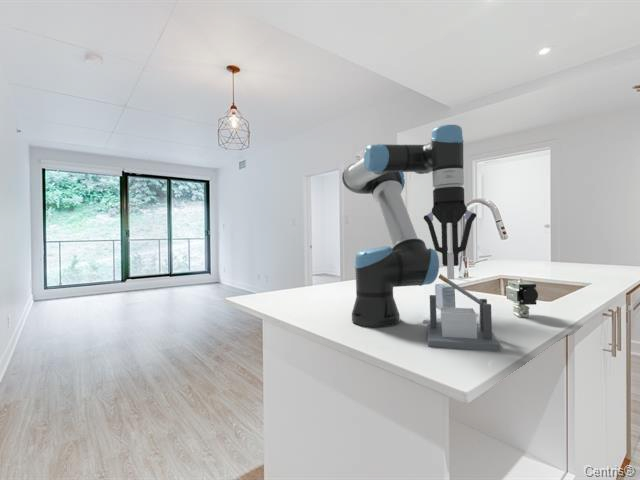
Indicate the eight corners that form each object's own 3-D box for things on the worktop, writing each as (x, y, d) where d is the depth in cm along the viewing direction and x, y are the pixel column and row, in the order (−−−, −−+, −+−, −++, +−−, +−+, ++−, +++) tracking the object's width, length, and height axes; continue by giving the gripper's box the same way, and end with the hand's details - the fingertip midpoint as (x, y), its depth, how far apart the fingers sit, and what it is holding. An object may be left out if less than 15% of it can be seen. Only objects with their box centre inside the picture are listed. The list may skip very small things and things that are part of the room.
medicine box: (456, 311, 115) (455, 286, 115) (442, 312, 115) (442, 287, 115) (447, 306, 123) (446, 283, 123) (435, 307, 123) (434, 283, 123)
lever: (438, 279, 86) (441, 275, 86) (437, 277, 90) (440, 272, 90) (487, 311, 83) (491, 307, 83) (484, 307, 87) (487, 303, 87)
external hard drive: (458, 318, 110) (450, 328, 99) (432, 315, 114) (422, 324, 103) (458, 313, 110) (450, 322, 99) (432, 310, 114) (422, 319, 103)
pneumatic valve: (520, 311, 112) (519, 275, 112) (539, 321, 101) (538, 281, 100) (502, 311, 113) (501, 276, 113) (519, 321, 101) (519, 281, 101)
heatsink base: (428, 346, 83) (427, 304, 83) (427, 329, 96) (426, 293, 96) (500, 351, 78) (499, 306, 78) (489, 332, 91) (488, 294, 91)
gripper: (421, 187, 85) (424, 280, 86) (478, 183, 81) (480, 280, 82) (422, 190, 92) (424, 276, 93) (473, 187, 88) (476, 276, 89)
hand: (450, 278), depth 87 cm, fingers closed
